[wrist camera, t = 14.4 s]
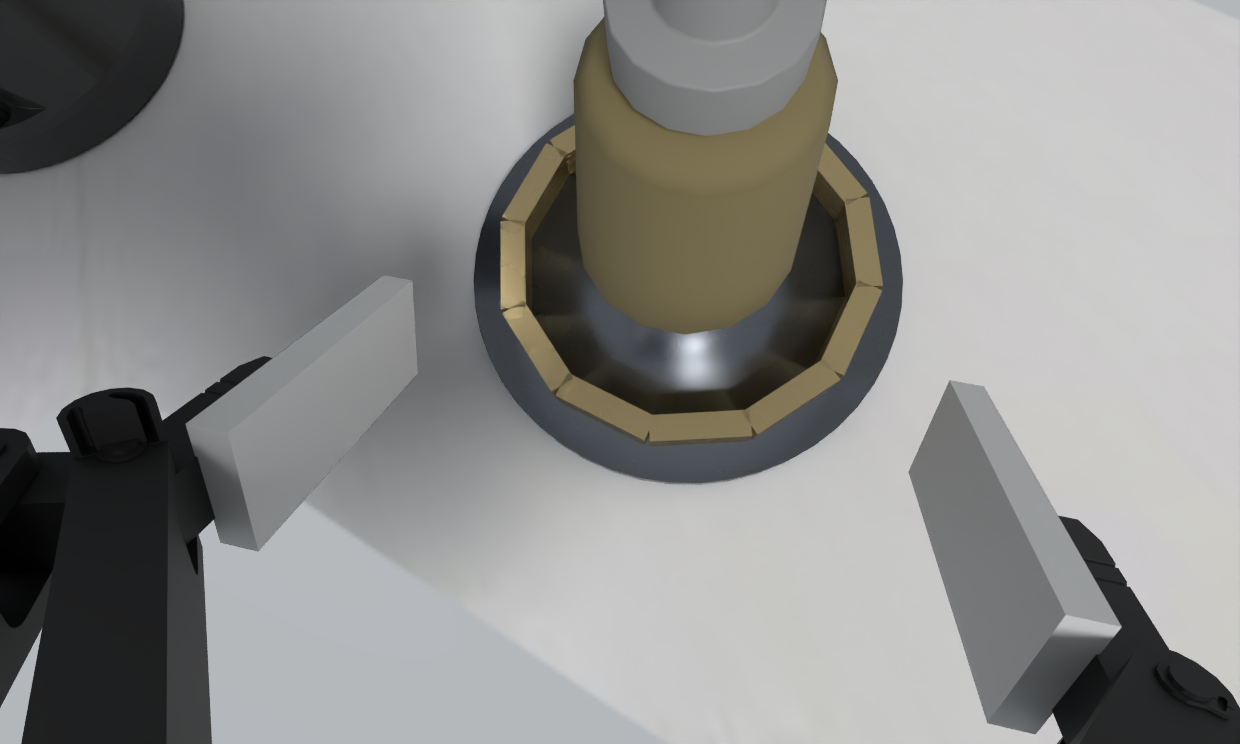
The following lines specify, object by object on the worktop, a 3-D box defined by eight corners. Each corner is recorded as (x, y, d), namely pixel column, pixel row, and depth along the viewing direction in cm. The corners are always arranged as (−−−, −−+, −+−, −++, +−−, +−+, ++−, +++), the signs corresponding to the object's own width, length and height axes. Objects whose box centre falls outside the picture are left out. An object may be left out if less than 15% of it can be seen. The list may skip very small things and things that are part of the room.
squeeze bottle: (733, 158, 28) (864, -438, 11) (811, 320, 26) (1119, -91, 9) (561, 220, 28) (413, -293, 11) (626, 389, 26) (576, 101, 9)
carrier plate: (404, 365, 28) (380, 349, 25) (597, 44, 31) (593, 3, 29) (790, 565, 25) (805, 569, 23) (955, 190, 29) (984, 158, 26)
